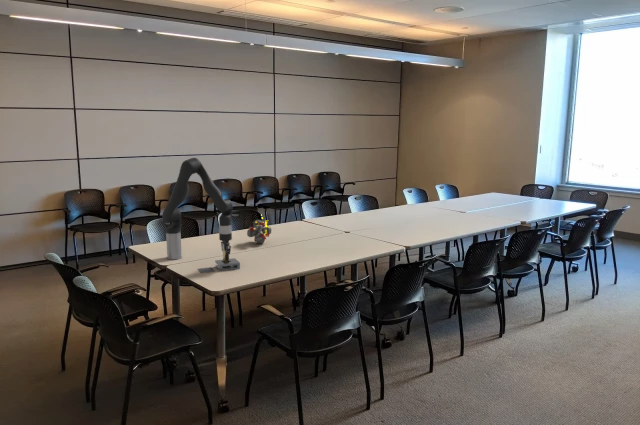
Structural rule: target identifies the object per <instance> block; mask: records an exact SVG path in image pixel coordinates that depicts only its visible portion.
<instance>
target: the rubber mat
mask: <svg viewBox="0 0 640 425" xmlns="http://www.w3.org/2000/svg"><path fill="white" fill-rule="evenodd" d="M196 270H197V271H198V272H199V273H200V274H206V273H214V272H216V270H215V269H214V268H213V267H202V268H197V269H196Z"/></svg>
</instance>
